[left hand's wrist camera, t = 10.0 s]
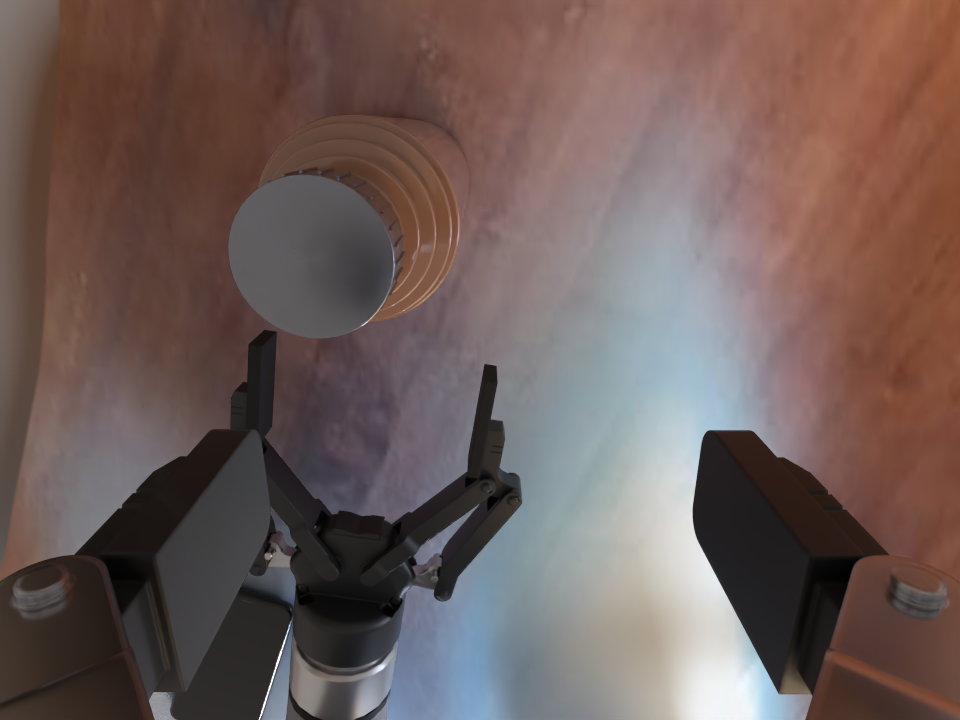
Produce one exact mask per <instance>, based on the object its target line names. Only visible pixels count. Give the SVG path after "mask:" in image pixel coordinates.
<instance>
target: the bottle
mask: <svg viewBox="0 0 960 720" xmlns="http://www.w3.org/2000/svg"><path fill="white" fill-rule="evenodd" d="M312 167H318V169H327V168H331V167H335V170H340V171H344V172H348V171H350V172H352V173H351V174H353V175H355V176H357V177H359V178H361V179H363V180H364V179H366V180H367V182H368V183H369V184H370V185H372V186H373V187H374V188H376V189H377V190H380V191H381V194H382V195H383V196H384V198H385V199H386V200H387V201H388V203H389V204H390V203H391V204H392V206H391V207H392V209H393V210H394V212H395V214H396V216H397V218H398V219H400V222H399V223H400V227H401V230H402V234H403V235H404V236H405V238H404V239H403V240H404V251H406V254H405V256H404V258H403V264H402V267H404V268H403V271H402V273H401V274H400V276H399V278H398V280H397V282H398V283H397V285H396V287H395V289H394V291H393V293H392V295H391V296H390V298H388V299H387V301H386V303H385V304H384V306H383V308H382V310H381V311H380V312H379V311H378V312H377V314H376V315H375V316H374V317H373V318H372V319H371V320H370V321H369V322H374V321H382V320H387V319H390V318H394V317H397V316H400V315H402V314H404V313H407V312H409V311H410V310H412V309H414V308H416V307H417V306H419V305H420V304H421V303H423V302H424V301H425V300H427V299H428V298H429V297H430V296H431V295H432V294H433V293H434V292H435V291H436V290H437V289H438V287H439V286H440V285H441V283H442V282H443V281H444V279H445V277H446V275H447V274H448V272H449V270H450V268H451V266H452V263H453V261H454V258H455V255H456V251H457V247H458V243H459V238H460V234H461V229H462V225H463V220H464V215H465V211H466V206H467V201H468V197H469V191H470V173H469V167H468V164H467V160H466V158H465V156H464V153H463V152H462V150H461V148H460V146H459V145H458V144H457V142H456V141H455V140H454V139H453V138H452V137H451V136H450V135H449V134H448V133H447V132H445V131H444V130H443V129H441V128H440V127H438V126H436V125H434V124H432V123H429V122H426V121H422V120H416V119H405V118H394V117H382V116H370V115H358V114H342V115H335V116H329V117H325V118H322V119H319V120H315V121H313V122H311V123H309V124H307V125H305V126H303V127H301V128H300V129H298V130H297V131H295V132H294V133H292V134H291V135H290V136H289V137H287V138H286V139H285V140H284V141H283V142H282V143H281V144H280V145H279V146H278V148H277V149H276V150H275V151H274V152H273V154H272V155H271V157H270V159H269V160H268V162H267V164H266V165H265V168H264V170H263V172H262V175H261V177H260V180H259V184H258V188H259V187H261V186H263V185H264V184H265V182H267V181H270V180H274V179H277V178H280V177H282V176H281V175H282V174H285V173H289V172H294V171H298V170H304V169H308V168H312ZM258 188H257V189H258Z"/></svg>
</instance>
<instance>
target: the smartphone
mask: <svg viewBox="0 0 960 720" xmlns="http://www.w3.org/2000/svg"><path fill="white" fill-rule="evenodd" d="M293 618H294V607H293V606H292V605H291V604H290V603H288V602H286V601H283V600H279V599H276V598H272V597H269V596H265V595H262V594H258V593H255V592H251V591H248V590H244V589H239V591H238V593H237V595H236V597H235V599H234V601H233V603H232V605H231V606H230V608H229V610H228V612H227V614H226V616H225V618H224V620H223V622H222V624H221V626H220V627H219V629H218V631H217V633H216V635H215V637H214V639H213V641H212V643H211V645H210V647H209V649H208V650H207V652H206V654H205V656H204V658H203V660H202V662H201V664H200V666H199V668H198V670H197V671H196V673H195V675H194V677H193V679H192V681H191V683H190V685H189V687H188V689H187V691H186V692H174V695H173V700H172V704H171V708H170V713H171V715H172V717H173V718H174V719H176V720H261V719H262V716H263V713H264V710H265V707H266V704H267V700H268V697H269V694H270V691H271V688H272V685H273V682H274V679H275V675H276V672H277V669H278V666H279V663H280V660H281V657H282V654H283V652H284V649H285V646H286V642H287V638H288V635H289V632H290V629H291V626H292V622H293Z"/></svg>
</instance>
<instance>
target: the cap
mask: <svg viewBox="0 0 960 720" xmlns="http://www.w3.org/2000/svg"><path fill="white" fill-rule="evenodd" d="M351 173H352V172H350V171H348V172H344V171H340V170H335V167H331V168H327V169H318V167H312V168H308V169H304V170H298V171H294V172H289V173H285V174H282V175H281V176H282V177H280V178H277V179H274V180H270V181H267V182H265V184H264V185H263V186H261V187H259V188H258V189H257V190H255V191H254V192H253V193H252V194H251V195H250V196H249V197H248V198H247V199H246V200H245V202H244V203H243V204H242V205H241V207H240V209H239V210H238V212H237V214H236V216H235V218H234V221H233V223H232V227H231V230H230V235H229V244H228V250H229V261H230V267H231V271H232V274H233V277H234V280H235V282H236V284H237V287H238V288H239V290H240V292H241V294H242V295H243V297H244V298H245V300H246V301H247V302H248V304H249V305H250V306H251V307H252V308H253V309H254V310H255V311H256V313H258V314H259V315H260V316H261V317H262V318H263V319H265V320H266V321H267V322H269V323H270V324H272V325H273V326H275V327H277V328H279V329H281V330H283V331H285V332H288V333H291V334H293V335H297V336H301V337H306V338H315V339H316V338H332V337H338V336H341V335H345V334H347V333H350V332H352V331H355V330H356V329H358V328H360V327H361V326H363V325H364V324H366V323H367V322H369V321H370V320H371V319H372V318H373V317H374V316H375V315H376V314H377V312H378V311H379V312H380V311H381V310H382V308H383V306H384V304H385V303H386V301H387V299H388V298H390V296H391V295H392V293H393V291H394V289H395V287H396V285H397V283H398V282H397V280H398V278H399V276H400V274H401V273H402V271H403V268H404V267H402V264H403V258H404V256H405V254H406V251H404V240H403V239H404V238H405V236H404V235H403V234H402V230H401V227H400V223H399V222H400V219H398V218H397V216H396V214H395V212H394V210H393V209H392V207H391V206H392V204H391V203H390V204H389V203H388V201H387V200H386V199H385V198H384V196H383V195H382V194H381V191H380V190H377V189H376V188H374V187H373V186H372V185H370V184H369V183H368V182H367V180H366V179H364V180H363V179H361V178H359V177H357V176H355V175H353V174H351Z"/></svg>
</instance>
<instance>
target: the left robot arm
mask: <svg viewBox="0 0 960 720" xmlns="http://www.w3.org/2000/svg"><path fill="white" fill-rule="evenodd" d="M269 524H270V499H269V492H268V485H267V477H266V470H265V463H264V456H263V448H262V442H261V438H260V435H259V433H258V432H257V431H256V430H254V429H214V430H211V431H210V432H208V433H207V435H206V436H205V437H204V438H203V439H202V440H201V441H200V442H199V444H198V445H197V446H196V447H195V448H194V449H193V450H192V451H191V452H190V454H189V455H188V456H180V457H178V458H176V459H175V460H173V461H171V462H170V463H168V464H166V465H164V466H163V467H161V468H159V469H157V470H156V471H154V472H153V473H152V474H151V475H150V476H149V477H148V478H147V479H146V480H145V481H144V482H143V483H142V484H141V485H140V486H139V488H138V489H137V492H136V493H133V494H132V495H131V496H130V497H129V498H128V499H127V500H126V501H125V502H124V503H123V504H122V509H118V510H117V511H116V512H115V513H114V514H113V515H112V516H111V517H110V518H109V519H108V520H107V521H106V522H105V523H104V524H103V525H102V526H101V527H100V528H99V529H98V531H97V532H96V533H95V534H94V535H93V536H92V537H91V538H90V539H89V540H88V541H87V542H86V543H85V544H84V545H83V546H82V547H81V548H80V549H79V550H78V551H77V553H76V554H75V555H69V556H61V557H56V558H51V559H48V560H44V561H41V562H38V563H35V564H33V565H30V566H28V567H25V568H23V569H21V570H19V571H17V572H15V573H13V574H11V575H10V576H8V577H6V578H5V579H3V580H2V581H0V720H154V717H153V713H152V710H151V707H150V703H149V699H150V697H151V695H152V694H153V692H186V691H187V689H188V687H189V685H190V683H191V681H192V679H193V677H194V675H195V673H196V671H197V670H198V668H199V666H200V664H201V662H202V660H203V658H204V656H205V654H206V652H207V650H208V649H209V647H210V645H211V643H212V641H213V639H214V637H215V635H216V633H217V631H218V629H219V627H220V626H221V624H222V622H223V620H224V618H225V616H226V614H227V612H228V610H229V608H230V606H231V605H232V603H233V601H234V599H235V597H236V595H237V593H238V591H239V589H240V587H241V585H242V584H243V582H244V580H245V578H246V576H247V574H248V572H249V570H250V568H251V566H252V564H253V562H254V561H255V559H256V557H257V555H258V553H259V551H260V549H261V547H262V545H263V543H264V541H265V539H266V537H267V534H268V530H269ZM693 524H694V530H695V534H696V537H697V540H698V542H699V544H700V546H701V548H702V550H703V552H704V553H705V555H706V557H707V559H708V561H709V563H710V565H711V567H712V569H713V570H714V572H715V574H716V576H717V578H718V580H719V582H720V584H721V586H722V587H723V589H724V591H725V593H726V595H727V597H728V599H729V601H730V603H731V604H732V606H733V608H734V610H735V612H736V614H737V616H738V618H739V620H740V621H741V623H742V625H743V627H744V629H745V631H746V633H747V635H748V637H749V638H750V640H751V642H752V644H753V646H754V648H755V650H756V652H757V654H758V655H759V657H760V659H761V661H762V663H763V665H764V667H765V669H766V671H767V672H768V674H769V676H770V678H771V680H772V682H773V684H774V686H775V688H776V689H777V691H778V693H779V694H812V696H813V697H812V700H811V703H810V707H809V710H808V713H807V717H806V720H960V581H958V580H957V579H955V578H954V577H952V576H950V575H949V574H947V573H945V572H943V571H941V570H939V569H937V568H935V567H932V566H930V565H927V564H925V563H922V562H919V561H916V560H912V559H909V558H904V557H899V556H891V555H889V554H888V553H887V552H886V551H885V550H884V549H883V548H882V547H881V546H880V545H879V544H878V543H877V541H876V540H875V539H874V538H873V537H872V536H871V535H870V534H869V533H868V532H867V531H866V530H865V529H864V528H863V527H862V526H861V525H860V524H859V523H858V522H857V521H856V520H855V519H854V518H853V517H852V515H851V514H850V513H849V512H848V511H847V510H843V509H842V505H841V504H840V503H839V502H838V501H837V500H836V499H835V498H834V497H833V496H832V495H828V491H827V490H826V488H825V487H824V486H823V485H822V484H821V483H820V482H819V481H818V480H817V479H816V478H815V477H814V476H813V475H812V474H811V473H810V472H808V471H806V470H805V469H803V468H801V467H799V466H798V465H796V464H794V463H792V462H791V461H789V460H787V459H786V458H777V457H776V456H775V455H774V454H773V452H772V451H771V450H770V449H769V448H768V447H767V446H766V445H765V444H764V442H763V441H762V440H761V439H760V438H759V437H758V436H757V435H756V434H755V433H754V432H753V431H750V430H709V431H707V432H706V433H705V435H704V437H703V440H702V445H701V452H700V459H699V466H698V473H697V480H696V488H695V495H694V502H693Z"/></svg>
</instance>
